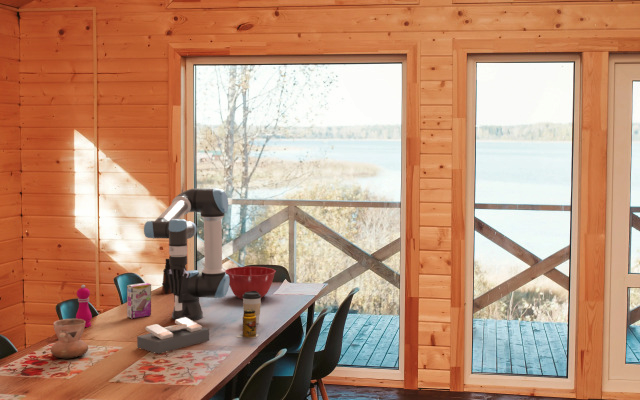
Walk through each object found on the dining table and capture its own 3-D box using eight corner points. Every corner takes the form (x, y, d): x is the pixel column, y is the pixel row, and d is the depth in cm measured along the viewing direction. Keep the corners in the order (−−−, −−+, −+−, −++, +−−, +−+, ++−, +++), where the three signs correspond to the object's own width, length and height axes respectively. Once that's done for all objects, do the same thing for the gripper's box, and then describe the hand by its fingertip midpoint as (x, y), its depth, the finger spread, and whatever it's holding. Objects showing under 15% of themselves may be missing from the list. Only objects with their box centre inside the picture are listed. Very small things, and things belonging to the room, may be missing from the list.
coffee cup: (258, 325, 348) (258, 294, 347) (240, 324, 350) (239, 293, 349) (263, 320, 357) (263, 290, 356) (245, 320, 359) (245, 289, 358)
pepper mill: (95, 325, 347) (94, 284, 345) (84, 328, 340) (83, 286, 339) (83, 323, 350) (82, 282, 348) (72, 327, 343) (71, 285, 342)
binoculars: (173, 294, 421) (172, 259, 420) (159, 293, 422) (159, 259, 421) (183, 288, 439) (183, 255, 438) (170, 287, 440) (170, 254, 439)
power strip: (137, 348, 308) (137, 335, 308) (193, 333, 332) (193, 321, 332) (158, 354, 300) (158, 340, 299) (214, 338, 324) (214, 326, 323)
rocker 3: (174, 324, 322) (175, 319, 321) (185, 321, 327) (186, 316, 326) (190, 333, 315) (191, 328, 315) (201, 331, 320) (202, 326, 319)
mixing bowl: (285, 296, 417) (285, 269, 416) (254, 305, 393) (254, 276, 392) (246, 290, 432) (246, 264, 431) (214, 299, 408) (214, 271, 407)
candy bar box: (132, 319, 359) (131, 286, 358) (126, 317, 363) (126, 285, 362) (151, 315, 367) (151, 283, 366) (146, 314, 371) (146, 282, 370)
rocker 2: (160, 333, 315) (159, 328, 316) (171, 330, 320) (171, 325, 320) (176, 331, 308) (175, 326, 309) (188, 329, 313) (187, 323, 314)
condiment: (253, 338, 324) (253, 312, 323) (235, 337, 327) (235, 310, 326) (259, 334, 331) (259, 308, 330) (242, 333, 334) (242, 307, 333)
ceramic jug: (79, 362, 288) (79, 326, 287) (43, 361, 289) (43, 325, 288) (95, 350, 306) (95, 317, 305) (61, 349, 307) (61, 316, 306)
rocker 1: (144, 331, 309) (145, 326, 309) (156, 328, 314) (157, 323, 314) (161, 341, 303) (161, 336, 302) (173, 338, 308) (173, 333, 307)
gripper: (161, 255, 311) (161, 309, 313) (181, 257, 303) (181, 313, 304) (175, 253, 317) (175, 306, 318) (195, 255, 309) (195, 311, 310)
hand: (178, 310), depth 311 cm, fingers closed
